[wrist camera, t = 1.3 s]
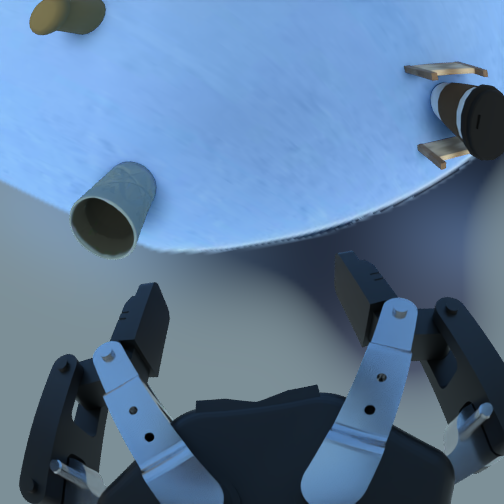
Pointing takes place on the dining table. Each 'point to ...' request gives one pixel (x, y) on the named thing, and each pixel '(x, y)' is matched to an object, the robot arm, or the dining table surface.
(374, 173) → the dining table surface
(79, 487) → the robot arm
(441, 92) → the coffee cup
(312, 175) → the dining table surface
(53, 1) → the cork
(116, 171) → the green embossed planter
